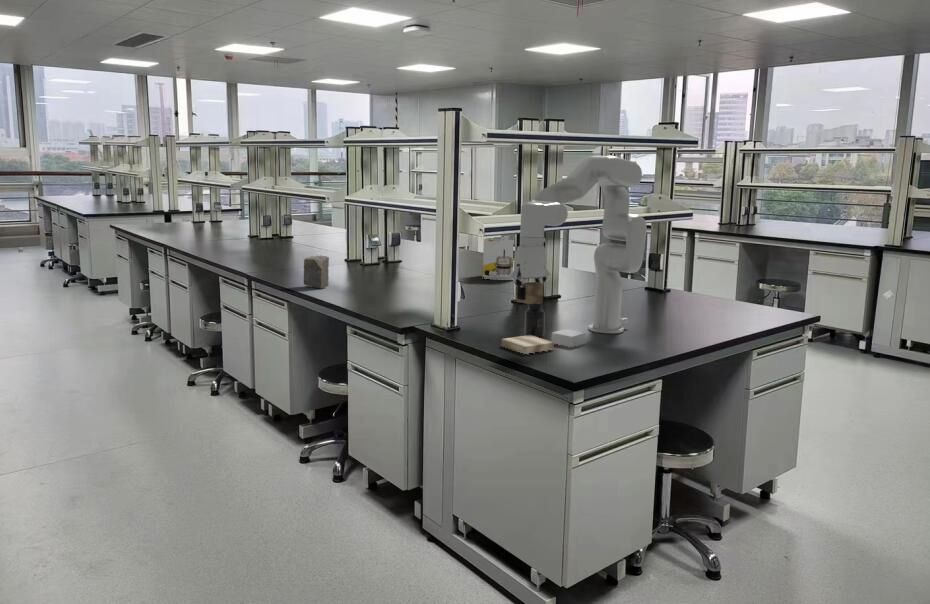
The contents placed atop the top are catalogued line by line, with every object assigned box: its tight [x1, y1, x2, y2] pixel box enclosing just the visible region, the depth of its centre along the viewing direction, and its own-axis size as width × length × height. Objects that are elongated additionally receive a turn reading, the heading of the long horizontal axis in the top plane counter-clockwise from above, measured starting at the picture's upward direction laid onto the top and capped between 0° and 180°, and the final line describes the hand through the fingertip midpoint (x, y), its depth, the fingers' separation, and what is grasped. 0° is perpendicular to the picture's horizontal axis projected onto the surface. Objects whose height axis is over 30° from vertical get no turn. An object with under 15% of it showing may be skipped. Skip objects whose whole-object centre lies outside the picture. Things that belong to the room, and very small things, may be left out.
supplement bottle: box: [524, 302, 546, 338], centre depth 244 cm, size 7×7×12 cm
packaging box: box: [482, 236, 514, 278], centre depth 371 cm, size 16×16×25 cm
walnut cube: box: [515, 280, 544, 305], centre depth 224 cm, size 6×6×6 cm
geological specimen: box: [303, 255, 330, 289], centre depth 330 cm, size 11×6×15 cm, turn 61°
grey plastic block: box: [550, 328, 586, 348], centre depth 235 cm, size 8×8×4 cm
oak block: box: [501, 334, 555, 355], centre depth 228 cm, size 12×12×3 cm
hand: (529, 298), depth 225 cm, fingers closed on walnut cube, 6 cm apart
